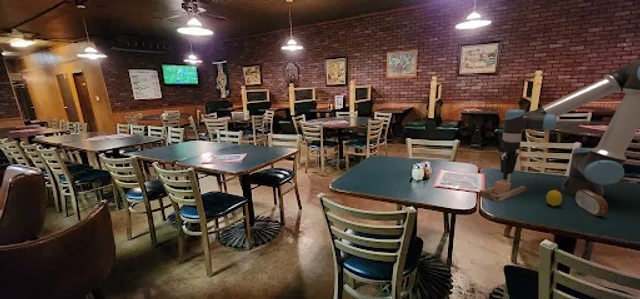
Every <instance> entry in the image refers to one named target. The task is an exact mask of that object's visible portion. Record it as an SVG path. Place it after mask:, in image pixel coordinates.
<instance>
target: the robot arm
mask: <svg viewBox="0 0 640 299" xmlns="http://www.w3.org/2000/svg"><path fill="white" fill-rule="evenodd" d="M622 92H624V96H623V98H622V100H621V101H620V104H619V106H618V107H617V109H616V110H615V113H614V114H613V116H612V118H611V120H610V122H609V124H608V126H607V127H606V130H605V131H604V133H603V135H602V137H601V138H600V141H599V142H598V145H597V146H596V147H593V148H592V147H575V148H574V149H573V150H572V153H571V160H570V166H569V172H568V176H567V177H566V179H565V180H564V182H563V183H562V185H561V191H562V192H564V193H566V194H569V195H572V196H575V195H576V192H577V191H578V190H589V191H591V192H593V193H595V194H597V195H599V196H601V197H602V198H603V197H604V193H605V191H604V188H603V186H606V185H607V186H609V185H612V184H616V183H618V182H619V181H620V180H622V178H623V177H624V175H625V169H624V167H623V166H624V165H625V163H626V161H627V157H626V155H625V152H626V151H627V149H628V147H629V146H630V144H631V142H632V140H633V138H635V135H636V133H637V132H638V131H639V129H640V59H637V60H634V61H631V62H629V63H627V64H625V65H624V66H620V67H619V68H617V69H615V70H614V71H611V72H609V73H607V74H605V75H604V77H603V78H601V79H599V80H597V81H594V82H593V83H591V84H588V85H586V86H584V87H582V88H580V89H578V90H576V91H574V92H571V93H569V94H567V95H565V96H563V97H561V98H558V99H556V100H553V101H551V102H549V103H547V104H545V105H542V106H541V107H538V108H536V109H535V110H529V111H527V112H525V110H524V109H508V110H506V112H505V115H504V121H503V124H504V125H503V132H502V141H501V149H503V152H502V155H499V160H500V162H499V163H500V173H502V181H506V182H510V183H511V176H512V175H513V174H514V171H515V169H516V165H517V161H518V158H519V155H520V153H519V152H517V151H518V150H520V148H521V141H522V134H523V130H525V131H526V130H527V131H529V130H530V131H543V132H544V131H553V130H554V129H555V128H556V126H557V125H556V124H557V117H560V116H562V115H564V114H566V113H569V112H571V111H573V110H577V109H579V108H581V107H583V106H586V105H587V104H590V103H592V102H594V101H598V100H600V99H602V98H604V97H606V96H608V95H610V94H611V95H612V94H614V93H616V94H617V93H618V94H619V93H622ZM511 174H512V175H511Z"/></svg>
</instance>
